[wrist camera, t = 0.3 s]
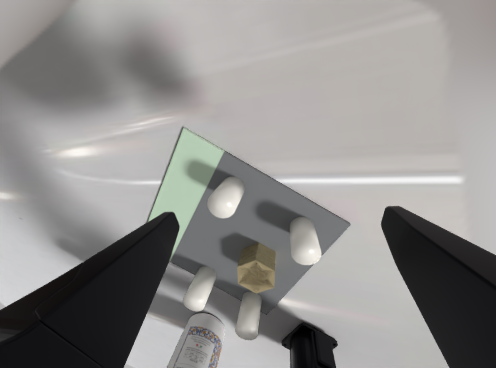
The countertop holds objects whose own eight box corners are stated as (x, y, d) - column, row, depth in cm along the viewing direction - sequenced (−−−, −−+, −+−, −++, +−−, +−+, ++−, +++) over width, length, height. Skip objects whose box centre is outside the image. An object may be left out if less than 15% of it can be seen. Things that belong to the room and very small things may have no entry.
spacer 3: (255, 308, 31) (250, 343, 26) (239, 299, 31) (231, 332, 26) (265, 297, 30) (261, 332, 25) (248, 288, 30) (241, 320, 25)
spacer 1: (211, 284, 31) (199, 314, 26) (195, 275, 31) (179, 304, 26) (219, 272, 30) (207, 302, 25) (202, 262, 30) (187, 290, 25)
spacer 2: (238, 202, 25) (227, 223, 20) (217, 191, 25) (203, 209, 20) (249, 184, 24) (241, 201, 19) (228, 171, 24) (214, 186, 19)
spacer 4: (305, 240, 25) (309, 269, 21) (285, 229, 25) (285, 255, 21) (319, 224, 24) (327, 251, 20) (298, 212, 24) (301, 236, 19)
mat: (266, 312, 31) (266, 314, 31) (141, 242, 31) (139, 244, 30) (349, 222, 24) (350, 224, 23) (185, 127, 23) (183, 128, 23)
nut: (267, 277, 28) (264, 298, 25) (235, 259, 28) (229, 278, 25) (284, 256, 27) (284, 276, 23) (250, 237, 27) (245, 254, 23)
